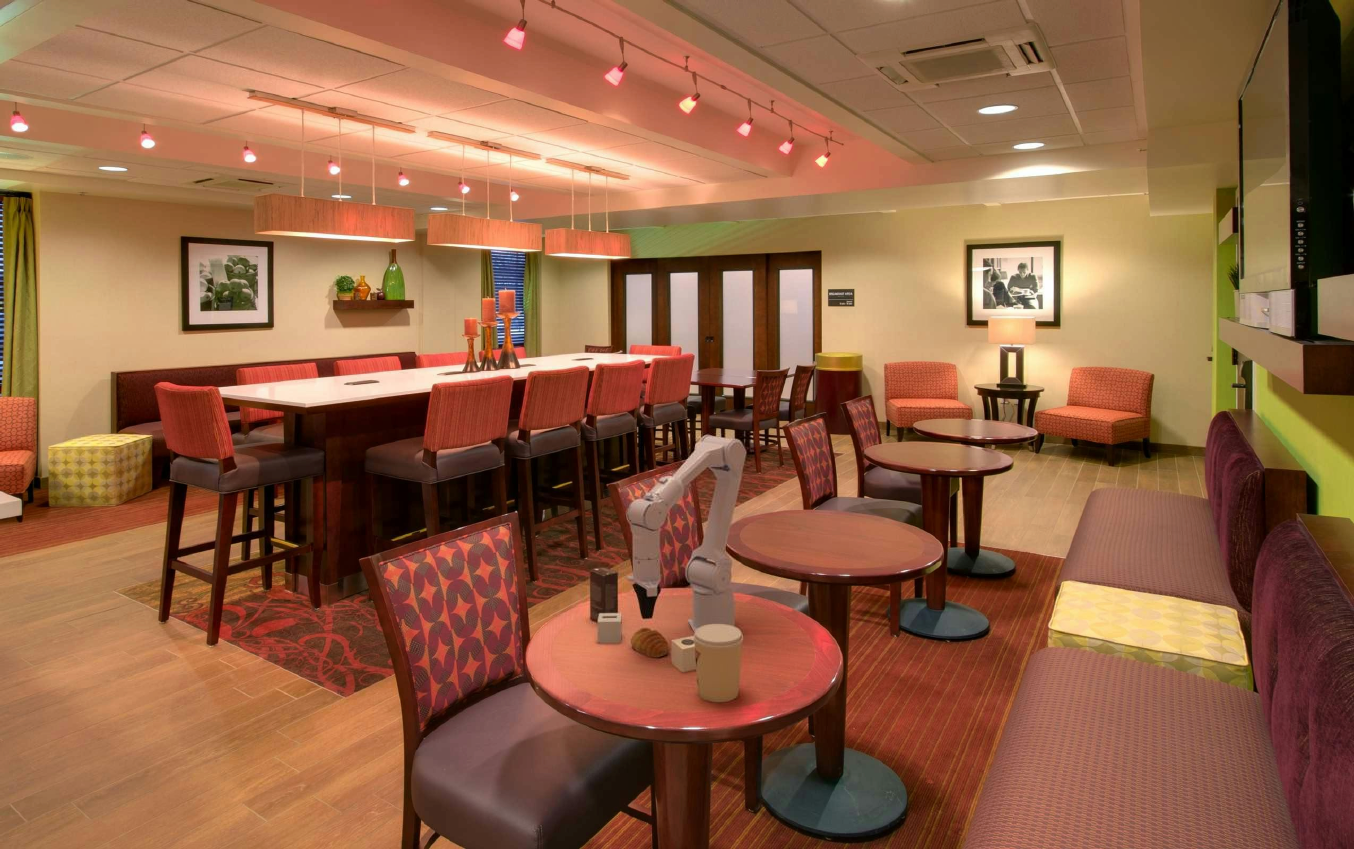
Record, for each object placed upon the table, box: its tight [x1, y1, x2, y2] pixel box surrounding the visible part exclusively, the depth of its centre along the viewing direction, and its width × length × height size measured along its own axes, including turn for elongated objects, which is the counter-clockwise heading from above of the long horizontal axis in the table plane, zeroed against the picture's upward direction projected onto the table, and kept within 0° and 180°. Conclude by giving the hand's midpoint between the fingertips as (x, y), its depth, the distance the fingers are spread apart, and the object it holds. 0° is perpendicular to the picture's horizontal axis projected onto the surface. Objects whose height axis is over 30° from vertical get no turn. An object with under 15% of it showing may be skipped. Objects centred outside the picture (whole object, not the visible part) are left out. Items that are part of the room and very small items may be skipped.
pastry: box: [630, 627, 670, 659], centre depth 171 cm, size 9×7×4 cm
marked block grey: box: [597, 612, 623, 644], centre depth 177 cm, size 5×5×5 cm
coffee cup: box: [693, 624, 744, 703], centre depth 151 cm, size 9×9×12 cm
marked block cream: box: [671, 635, 696, 673], centre depth 164 cm, size 5×5×5 cm
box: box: [589, 566, 619, 623], centre depth 188 cm, size 6×4×12 cm
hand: (646, 617), depth 170 cm, fingers closed
